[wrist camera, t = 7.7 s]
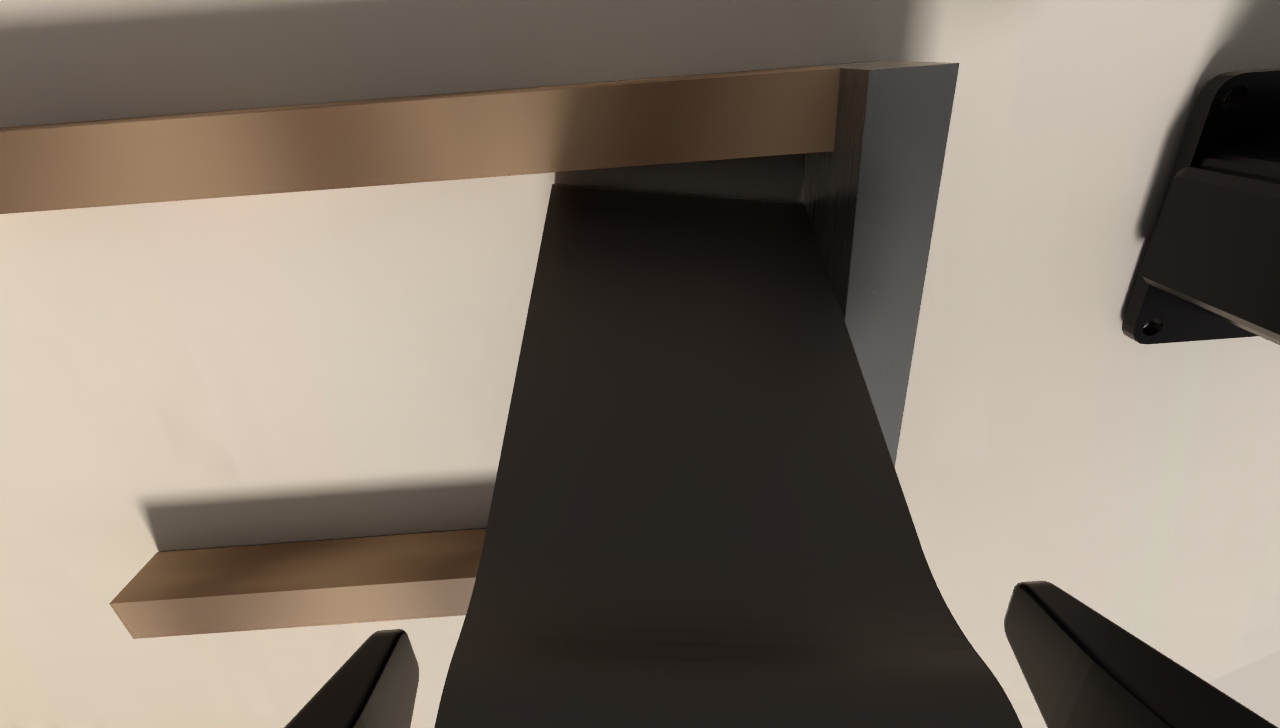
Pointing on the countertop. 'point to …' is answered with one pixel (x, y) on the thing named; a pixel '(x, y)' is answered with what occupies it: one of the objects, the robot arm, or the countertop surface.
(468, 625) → the phone stand
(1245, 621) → the countertop surface
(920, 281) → the end stop
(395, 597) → the guide track
